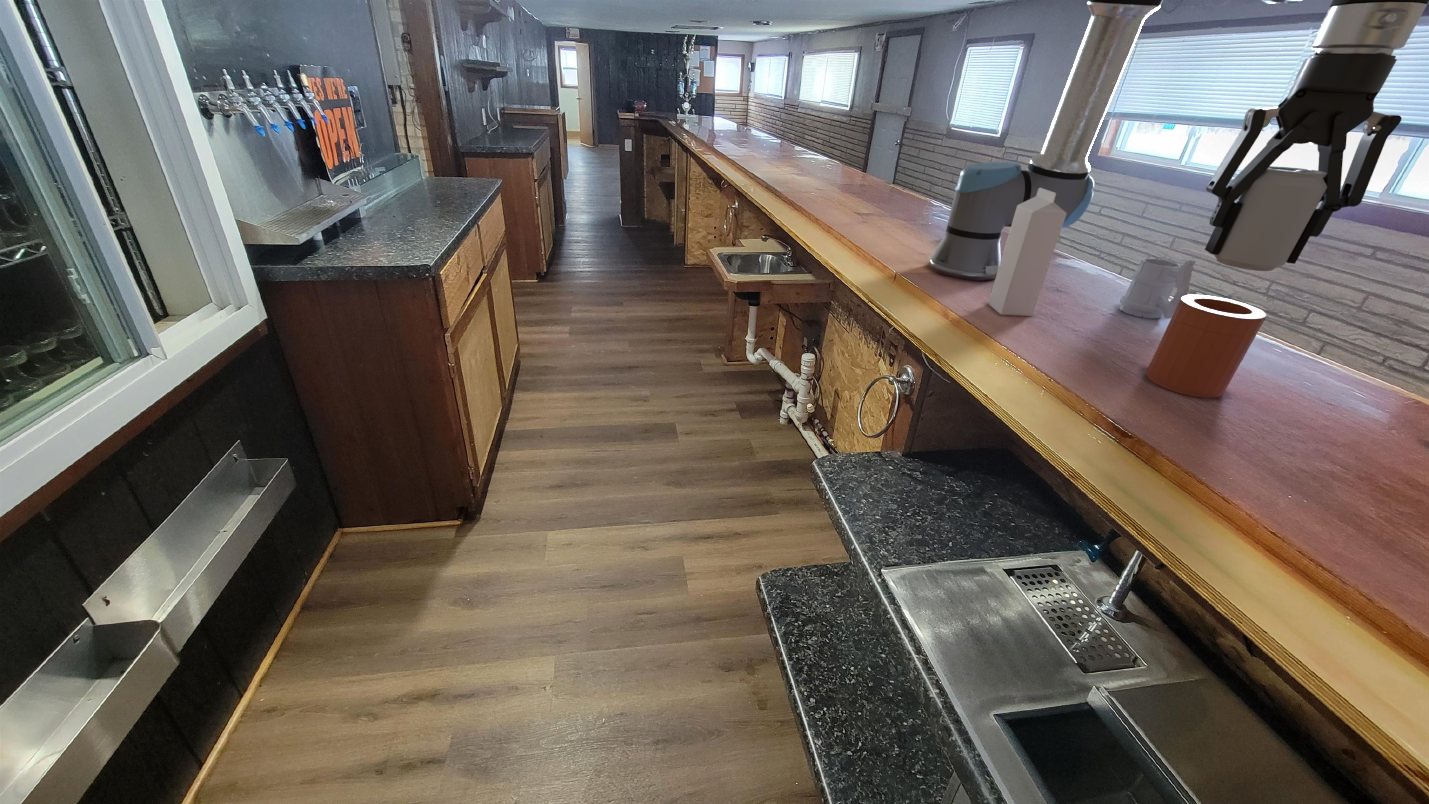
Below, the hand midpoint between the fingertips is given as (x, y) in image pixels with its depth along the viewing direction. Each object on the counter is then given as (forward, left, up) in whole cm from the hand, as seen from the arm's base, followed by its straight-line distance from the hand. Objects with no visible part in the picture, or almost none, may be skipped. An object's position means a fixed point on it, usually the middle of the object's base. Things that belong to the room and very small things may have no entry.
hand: (1248, 256), depth 74 cm
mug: (-32, +2, -19) cm, 37 cm away
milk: (-22, -23, -19) cm, 37 cm away
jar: (0, 0, -19) cm, 19 cm away
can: (0, 0, -1) cm, 1 cm away
